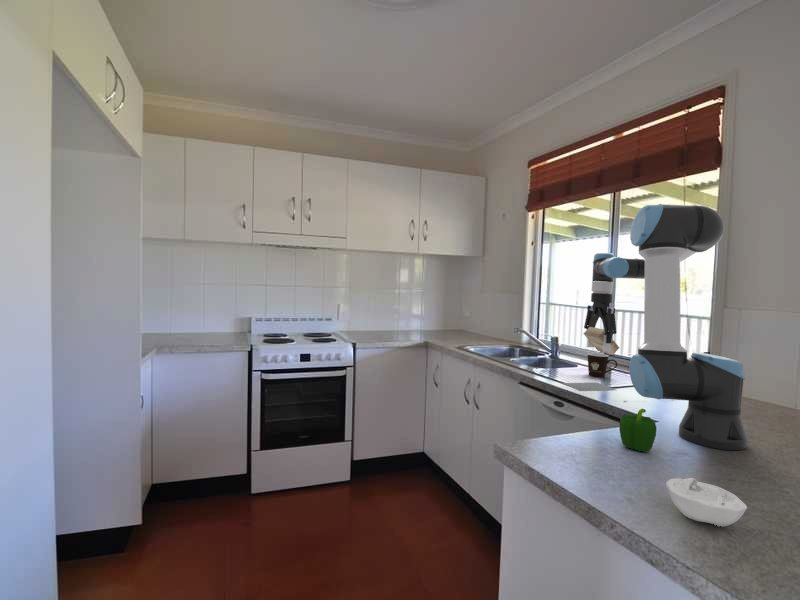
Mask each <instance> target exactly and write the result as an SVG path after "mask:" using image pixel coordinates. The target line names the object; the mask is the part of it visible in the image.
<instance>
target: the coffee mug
mask: <svg viewBox="0 0 800 600" xmlns="http://www.w3.org/2000/svg"><path fill="white" fill-rule="evenodd" d="M586 355H587V365H588V366H587V368H588V376H589V377H593V378H599V379H601V378H602V379H603V378H606V374H607V373H608V372H611V371H613V370H614V369H616V368H617V367H618V362H617V360H615V359H609V354H606V353H597V352H590V353H587V354H586ZM610 362H614V363H615V366H614V367H613V368H610V369H608V370H607V368H608V367H607V366H608V364H609V363H610Z"/></svg>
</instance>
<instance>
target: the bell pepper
mask: <svg viewBox="0 0 800 600" xmlns="http://www.w3.org/2000/svg"><path fill="white" fill-rule="evenodd" d="M646 412H647V410H646V409H645V408H640V409H639V410H638V411H637V414H631V415H629V414H622V415H621V416H620V420H619V435H620V439H621V443H622V445H623V446H624V445H625V446H626V447H628V448H627V449H629V448H631V450H635V451H637V450H638V452H640V451H646V452H645V453H647V451H648V452H650V451H651V450H652V449H653V448H652V447H653V445H654V442H655V439H656V436H657V425H656V422H655V421H654V420H653V419H652V418H651V417H649V416H644V417H642V416H643V415H642V414H643V413H646ZM625 446H624V447H625ZM626 447H625V448H626Z"/></svg>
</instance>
